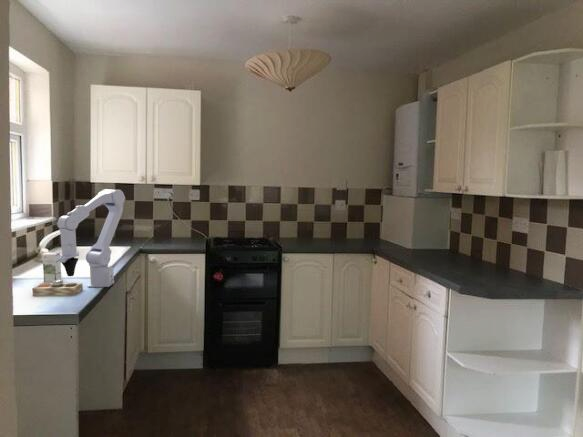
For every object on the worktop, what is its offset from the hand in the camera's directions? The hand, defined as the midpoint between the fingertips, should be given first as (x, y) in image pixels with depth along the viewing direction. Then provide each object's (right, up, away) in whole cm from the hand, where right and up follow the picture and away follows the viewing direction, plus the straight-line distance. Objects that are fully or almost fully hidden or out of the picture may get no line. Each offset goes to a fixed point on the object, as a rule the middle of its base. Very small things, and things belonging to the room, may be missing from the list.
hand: (70, 275), depth 206 cm
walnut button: (0, -6, +1) cm, 6 cm away
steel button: (-6, -5, 0) cm, 7 cm away
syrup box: (-15, -6, +15) cm, 22 cm away
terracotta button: (-11, -6, 0) cm, 13 cm away
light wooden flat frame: (-6, -7, +1) cm, 9 cm away
